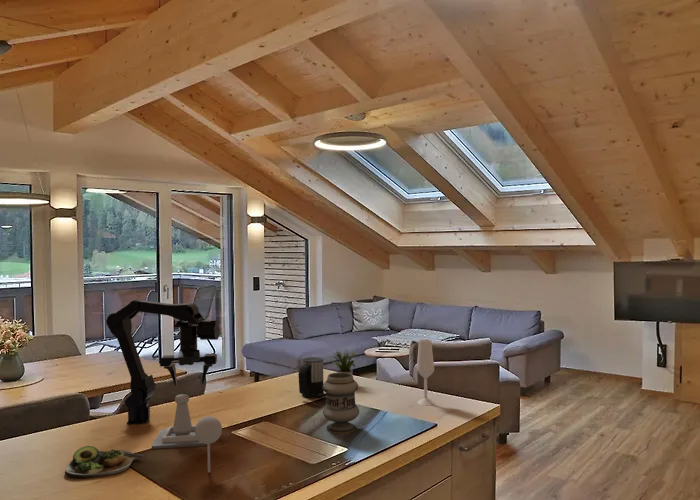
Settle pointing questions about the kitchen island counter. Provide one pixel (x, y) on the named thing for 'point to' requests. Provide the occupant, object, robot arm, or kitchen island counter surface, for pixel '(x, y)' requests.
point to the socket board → (175, 439)
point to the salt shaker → (182, 416)
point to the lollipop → (208, 432)
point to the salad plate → (98, 462)
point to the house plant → (344, 362)
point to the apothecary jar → (340, 402)
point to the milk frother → (311, 378)
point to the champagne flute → (425, 366)
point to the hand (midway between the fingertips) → (189, 384)
